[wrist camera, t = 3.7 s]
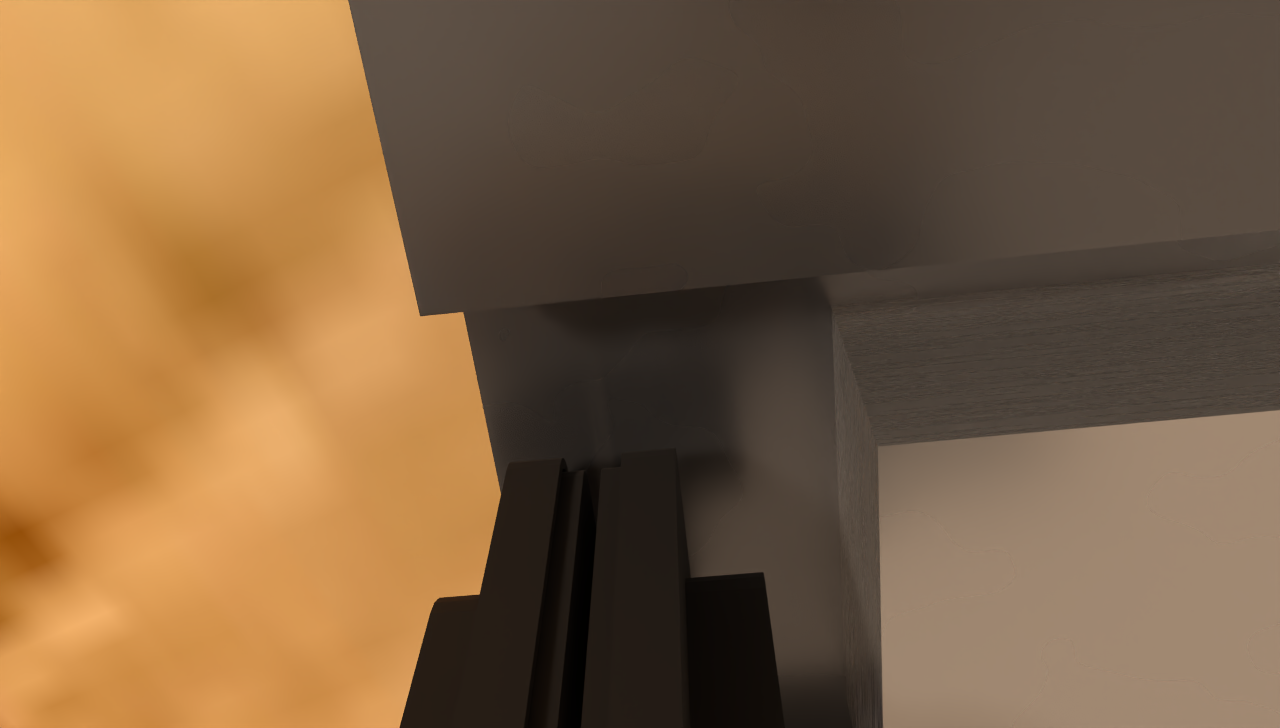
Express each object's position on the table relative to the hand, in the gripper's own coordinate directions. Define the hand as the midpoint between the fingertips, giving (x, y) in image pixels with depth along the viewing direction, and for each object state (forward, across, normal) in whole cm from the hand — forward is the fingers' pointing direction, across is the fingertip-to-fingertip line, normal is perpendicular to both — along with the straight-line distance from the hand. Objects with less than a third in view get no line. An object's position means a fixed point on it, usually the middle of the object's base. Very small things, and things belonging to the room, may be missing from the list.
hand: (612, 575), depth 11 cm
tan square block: (+1, -5, 0) cm, 5 cm away
